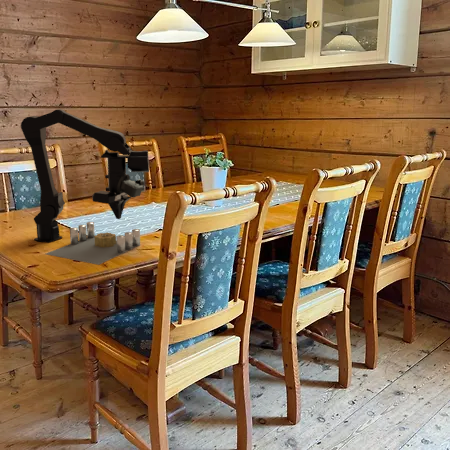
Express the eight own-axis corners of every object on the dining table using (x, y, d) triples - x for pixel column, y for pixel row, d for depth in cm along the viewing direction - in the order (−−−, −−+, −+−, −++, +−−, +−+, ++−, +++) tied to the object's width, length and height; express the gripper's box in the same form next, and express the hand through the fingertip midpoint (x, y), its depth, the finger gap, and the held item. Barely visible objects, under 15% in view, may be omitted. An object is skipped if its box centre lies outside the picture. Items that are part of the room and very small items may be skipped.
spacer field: (69, 244, 156) (68, 229, 155) (90, 235, 165) (89, 221, 164) (122, 253, 148) (121, 238, 147) (141, 244, 157) (141, 229, 156)
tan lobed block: (92, 246, 154) (91, 237, 153) (100, 240, 160) (99, 231, 160) (110, 248, 153) (110, 238, 152) (118, 242, 160) (118, 233, 159)
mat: (44, 254, 147) (44, 253, 147) (90, 236, 165) (90, 236, 165) (98, 265, 139) (98, 264, 139) (140, 245, 157) (140, 244, 157)
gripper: (120, 178, 146) (121, 228, 150) (154, 170, 163) (154, 215, 167) (90, 175, 151) (92, 224, 155) (126, 167, 167) (127, 211, 171)
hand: (118, 218), depth 162 cm, fingers closed
